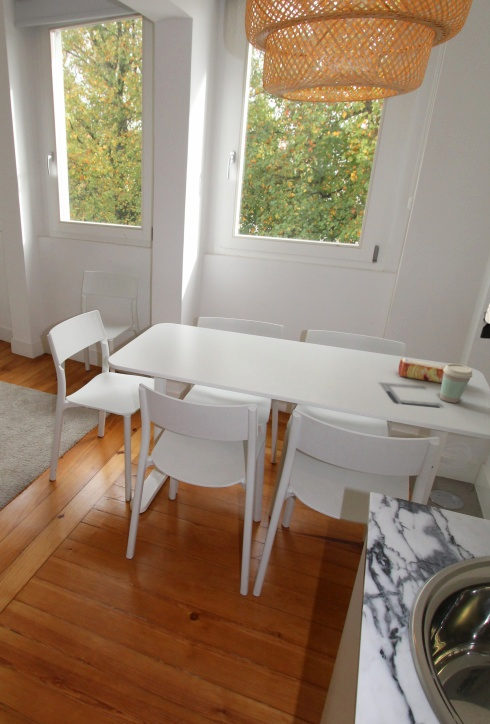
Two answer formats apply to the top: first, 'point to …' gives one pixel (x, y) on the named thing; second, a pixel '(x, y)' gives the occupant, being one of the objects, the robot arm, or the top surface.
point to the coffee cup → (454, 382)
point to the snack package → (421, 370)
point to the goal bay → (409, 403)
